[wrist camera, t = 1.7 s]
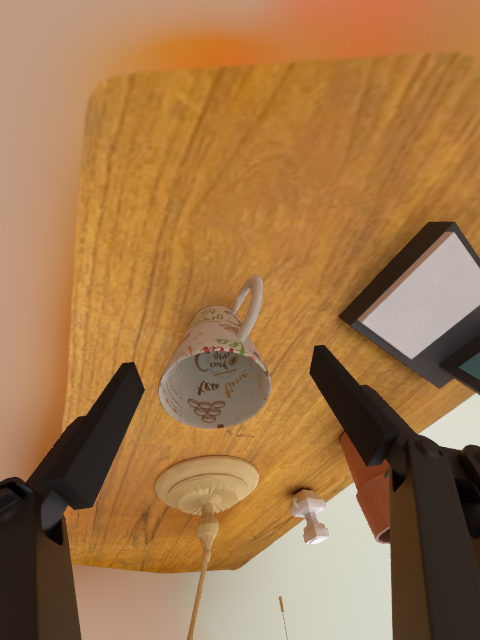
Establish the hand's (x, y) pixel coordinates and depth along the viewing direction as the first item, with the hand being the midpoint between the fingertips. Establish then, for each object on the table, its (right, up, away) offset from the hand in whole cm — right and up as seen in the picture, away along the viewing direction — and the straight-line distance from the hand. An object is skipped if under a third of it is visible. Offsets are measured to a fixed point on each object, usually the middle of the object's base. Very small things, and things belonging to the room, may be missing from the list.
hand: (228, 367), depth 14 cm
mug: (-1, +4, +8) cm, 9 cm away
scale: (+27, +4, +12) cm, 29 cm away
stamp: (+17, -42, +35) cm, 57 cm away
